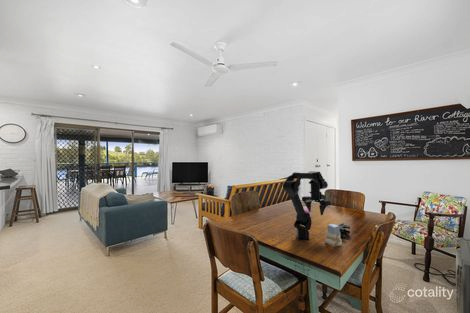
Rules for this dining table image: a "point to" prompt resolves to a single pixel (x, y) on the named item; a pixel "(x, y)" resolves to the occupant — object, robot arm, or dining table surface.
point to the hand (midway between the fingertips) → (315, 213)
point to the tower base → (333, 242)
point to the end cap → (344, 231)
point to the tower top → (332, 236)
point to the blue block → (333, 229)
